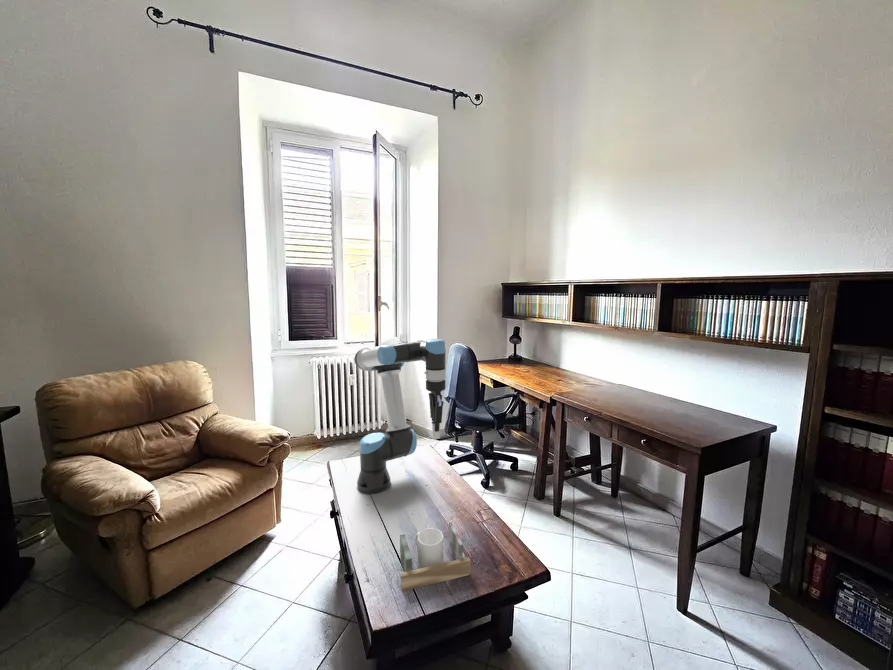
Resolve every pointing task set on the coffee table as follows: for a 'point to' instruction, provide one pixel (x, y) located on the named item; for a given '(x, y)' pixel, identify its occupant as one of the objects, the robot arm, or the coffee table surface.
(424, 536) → the mug
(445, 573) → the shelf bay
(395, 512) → the coffee table surface
